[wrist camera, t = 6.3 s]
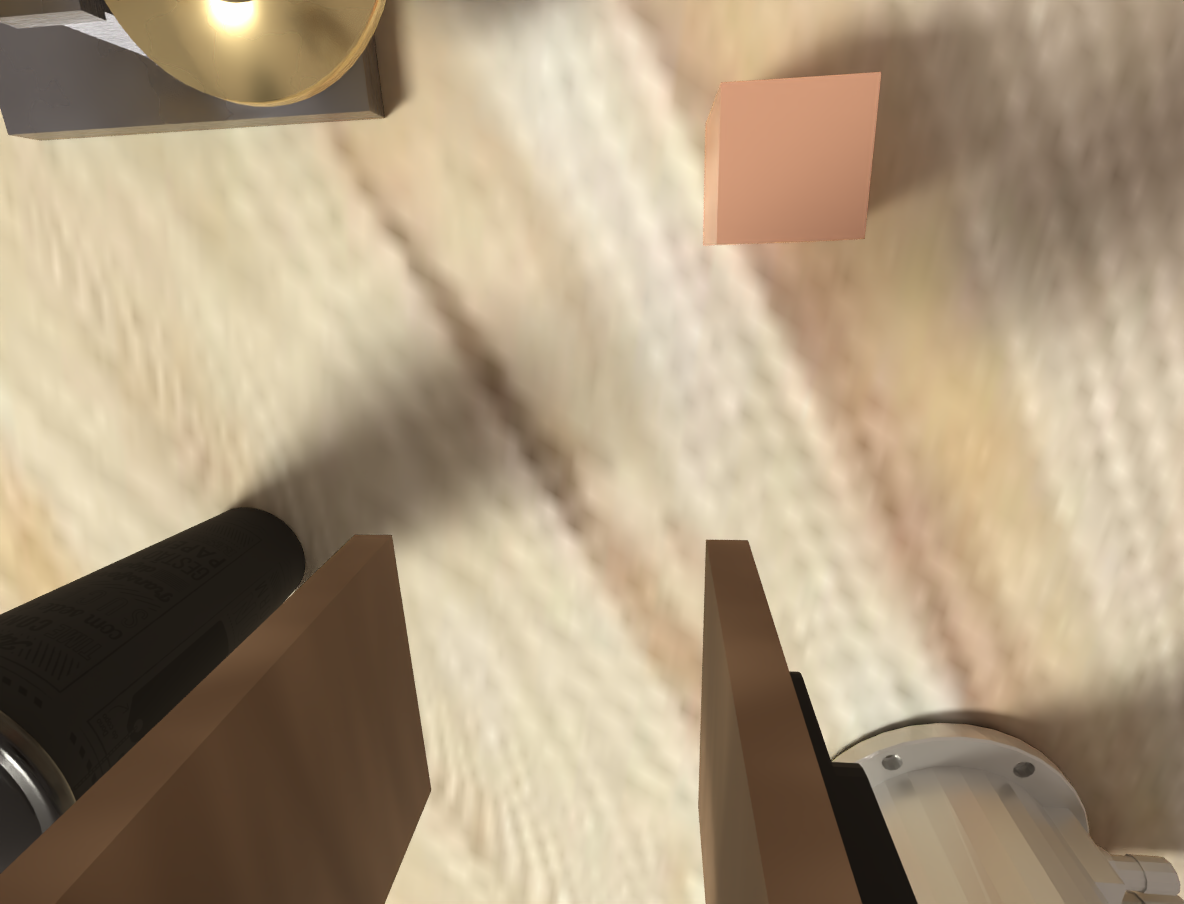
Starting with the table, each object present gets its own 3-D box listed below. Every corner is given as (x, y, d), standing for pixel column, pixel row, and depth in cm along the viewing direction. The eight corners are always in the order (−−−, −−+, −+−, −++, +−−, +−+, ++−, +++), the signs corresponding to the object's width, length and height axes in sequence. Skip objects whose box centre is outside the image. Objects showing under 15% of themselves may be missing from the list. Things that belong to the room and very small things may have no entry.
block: (825, 117, 20) (881, 72, 15) (815, 241, 22) (864, 238, 17) (705, 123, 21) (721, 82, 16) (702, 245, 22) (716, 244, 17)
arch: (748, 540, 10) (982, 1286, 3) (733, 808, 12) (852, 1665, 5) (354, 534, 11) (-254, 1118, 4) (399, 788, 13) (59, 1506, 6)
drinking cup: (237, 444, 27) (-772, 909, 8) (366, 561, 28) (-240, 1206, 9) (150, 545, 29) (-801, 1098, 10) (273, 649, 30) (-368, 1314, 11)
